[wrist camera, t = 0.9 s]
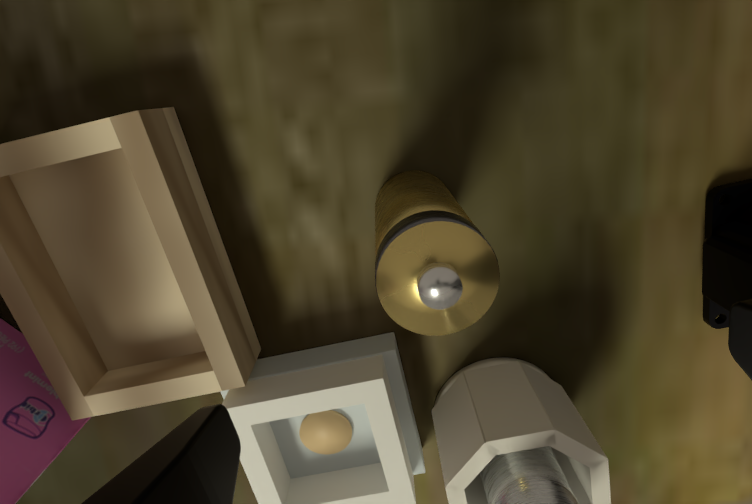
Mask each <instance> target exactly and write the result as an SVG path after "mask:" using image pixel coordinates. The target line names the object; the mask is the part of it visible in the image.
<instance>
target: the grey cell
mask: <svg viewBox="0 0 752 504" xmlns="http://www.w3.org/2000/svg"><path fill="white" fill-rule="evenodd" d="M480 476H481V480H482V483H483V487H484V491H485V494H486V498H487V502H488V504H578V502H577V500H576V498H575V496H574V494H573V492H572V490H571V488H570V486H569V484H568V482H567V480H566V478H565V476H564V473H563V471H562V469H561V467H560V465H559V463H558V461H557V459H556V457H555V455H554V453H553V451H552V449H551V447H550V446H544V447H539V448H533V449H528V450H522V451H516V452H511V453H505V454H500V455H495V456H494V458H493V459H492V460H491V461H490V462H489V463H488V464H487V465H486V466H485V467H484V469H483V470H482V471H481V472H480Z"/></svg>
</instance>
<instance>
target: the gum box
mask: <svg viewBox="0 0 752 504" xmlns="http://www.w3.org/2000/svg"><path fill="white" fill-rule="evenodd" d="M90 418H91V417H88V418H83V419H78V420H73V421H72V420H71V418H70V416H69V414H68V413H67V411H66V409H65V407H64V406H63V404H62V402H61V400H60V399H59V397H58V395H57V393H56V391H55V390H54V388H53V386H52V384H51V383H50V381H49V379H48V377H47V375H46V374H45V372H44V370H43V368H42V367H41V365H40V363H39V361H38V360H37V358H36V356H35V354H34V352H33V351H32V349H31V347H30V345H29V344H28V342H27V340H26V338H25V337H24V335H23V333H21V332H20V331H18V330H17V329H15V328H14V327H12V326H11V325H9V324H8V323H7V322H5V321H4V320H3V319H1V318H0V504H16V503H17V501H18V500H19V499H20V498H21V497H22V496H23V495H24V493H25V492H26V491H27V490H28V489H29V488H30V487H31V486H32V484H33V483H34V482H35V481H36V480H37V479H38V478H39V477H40V476H41V474H42V473H43V472H44V471H45V470H46V468H47V467H48V466H49V465H50V463H51V462H52V461H53V460H54V459H55V458H56V457H57V456H58V455H59V453H60V452H61V451H62V450H63V449H64V448H65V446H66V445H67V444H68V443H69V442H70V441H71V439H72V438H73V437H74V436H75V435H76V434H77V432H78V431H79V430H80V429H81V428H82V427H83V426H84V424H85V423H86V422H87V421H88V420H89V419H90Z"/></svg>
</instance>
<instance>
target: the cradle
mask: <svg viewBox="0 0 752 504" xmlns="http://www.w3.org/2000/svg"><path fill="white" fill-rule="evenodd" d="M220 392H221V394H222V396H223V399H224V401H223V403H222V405H224V406H225V407H226V408H227V410H228V412H229V415H230V417H231V419H232V422H233V424H234V426H235V429H236V431H237V434H238V436H239V439H240V444H241V453H240V461H241V463H242V466H243V468H244V470H245V473H246V475H247V477H248V480H249V482H250V485H251V487H252V489H253V492H254V494H255V496H256V499H257V501H258V504H416V499H415V489H414V479H413V475H416V474H421V473H426V472H425V465H424V458H423V451H422V446H421V442H420V438H419V433H418V429H417V425H416V421H415V417H414V413H413V409H412V405H411V400H410V396H409V392H408V388H407V384H406V380H405V376H404V371H403V367H402V363H401V359H400V355H399V351H398V347H397V343H396V338H395V334H394V332H391V333H386V334H381V335H376V336H371V337H366V338H361V339H356V340H351V341H346V342H341V343H336V344H331V345H326V346H321V347H317V348H312V349H307V350H302V351H297V352H292V353H287V354H282V355H277V356H272V357H267V358H262V359H257V360H256V363H255V365H254V367H253V370H252V372H251V374H250V377H249V379H248V381H247V384H246V386H245V387H240V388H235V389H230V390H225V391H220Z"/></svg>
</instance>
